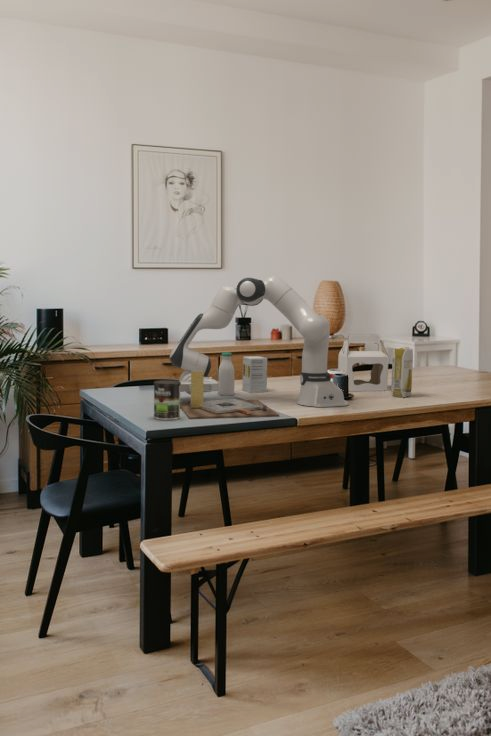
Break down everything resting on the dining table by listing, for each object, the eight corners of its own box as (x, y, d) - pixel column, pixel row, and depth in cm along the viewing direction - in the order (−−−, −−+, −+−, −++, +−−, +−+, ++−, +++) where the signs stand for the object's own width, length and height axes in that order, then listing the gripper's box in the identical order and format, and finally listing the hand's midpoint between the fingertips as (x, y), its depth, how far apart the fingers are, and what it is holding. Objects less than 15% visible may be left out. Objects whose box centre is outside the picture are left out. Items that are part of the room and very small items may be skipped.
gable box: (377, 387, 360) (379, 333, 357) (387, 391, 347) (390, 335, 344) (336, 387, 355) (338, 333, 352) (345, 391, 343) (347, 335, 339)
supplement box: (241, 390, 342) (242, 356, 340) (258, 389, 346) (259, 355, 344) (250, 393, 333) (250, 358, 331) (267, 392, 337) (267, 357, 335)
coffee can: (173, 421, 262) (173, 384, 260) (149, 418, 265) (149, 382, 264) (185, 416, 271) (185, 381, 270) (161, 414, 275) (161, 379, 273)
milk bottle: (237, 395, 326) (238, 353, 324) (223, 396, 322) (224, 353, 320) (228, 392, 333) (229, 351, 330) (214, 394, 328) (215, 352, 326)
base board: (257, 401, 309) (257, 394, 309) (279, 416, 274) (279, 409, 274) (177, 403, 301) (177, 396, 301) (189, 419, 266) (189, 411, 266)
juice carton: (404, 398, 324) (406, 347, 321) (389, 396, 329) (391, 346, 326) (412, 396, 332) (415, 346, 329) (397, 394, 336) (399, 345, 333)
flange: (234, 401, 303) (234, 367, 301) (272, 411, 279) (273, 374, 277) (184, 405, 289) (184, 370, 288) (219, 417, 265) (220, 378, 263)
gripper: (168, 377, 297) (171, 381, 284) (215, 376, 302) (221, 381, 288) (168, 391, 298) (171, 397, 285) (215, 391, 302) (220, 396, 289)
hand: (196, 389), depth 286 cm, fingers closed
